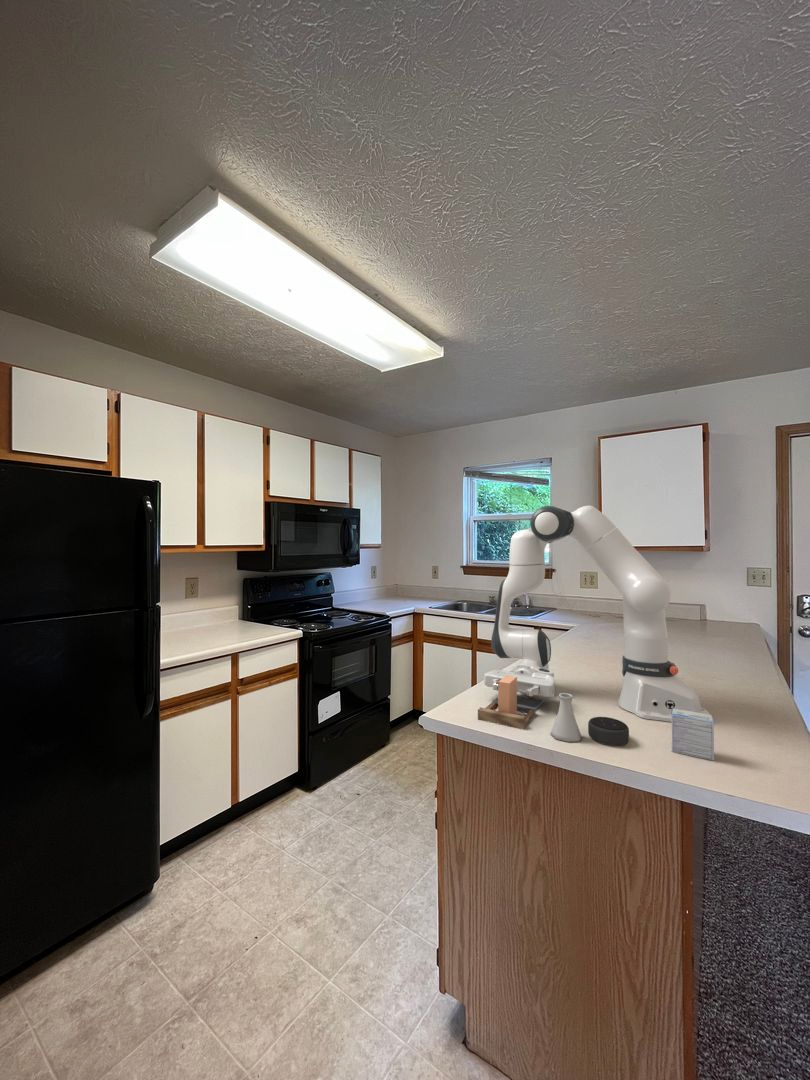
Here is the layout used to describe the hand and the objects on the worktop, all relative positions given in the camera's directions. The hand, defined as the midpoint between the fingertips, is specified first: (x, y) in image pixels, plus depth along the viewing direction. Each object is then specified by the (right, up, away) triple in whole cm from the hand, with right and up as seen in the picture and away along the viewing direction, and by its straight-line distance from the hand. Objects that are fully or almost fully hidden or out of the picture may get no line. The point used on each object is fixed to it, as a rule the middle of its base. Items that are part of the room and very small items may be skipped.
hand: (511, 690), depth 121 cm
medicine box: (+35, -6, -24) cm, 43 cm away
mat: (+4, -6, +7) cm, 10 cm away
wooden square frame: (-2, -6, -3) cm, 7 cm away
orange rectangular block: (-2, -6, -3) cm, 7 cm away
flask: (+9, -6, -16) cm, 19 cm away
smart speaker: (+19, -6, -17) cm, 26 cm away
